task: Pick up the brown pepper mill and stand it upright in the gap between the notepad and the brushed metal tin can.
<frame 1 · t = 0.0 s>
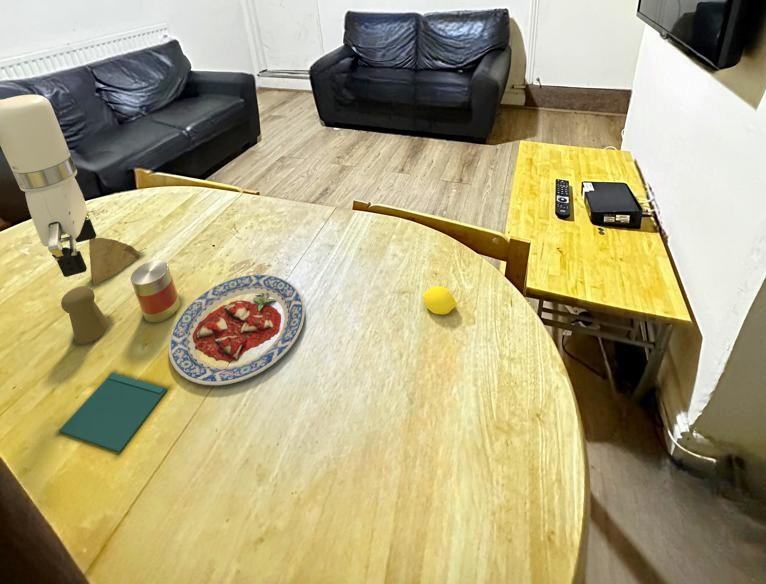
hand: (81, 255, 73), 21 cm above the table, tool pointing down, fingers open, 9 cm apart
lemon: (439, 310, 86), on the table
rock: (119, 270, 100), on the table
notepad: (117, 413, 69), on the table
ceramic plate: (241, 330, 83), on the table
tin can: (163, 311, 88), on the table
brown pepper mill: (93, 334, 83), on the table
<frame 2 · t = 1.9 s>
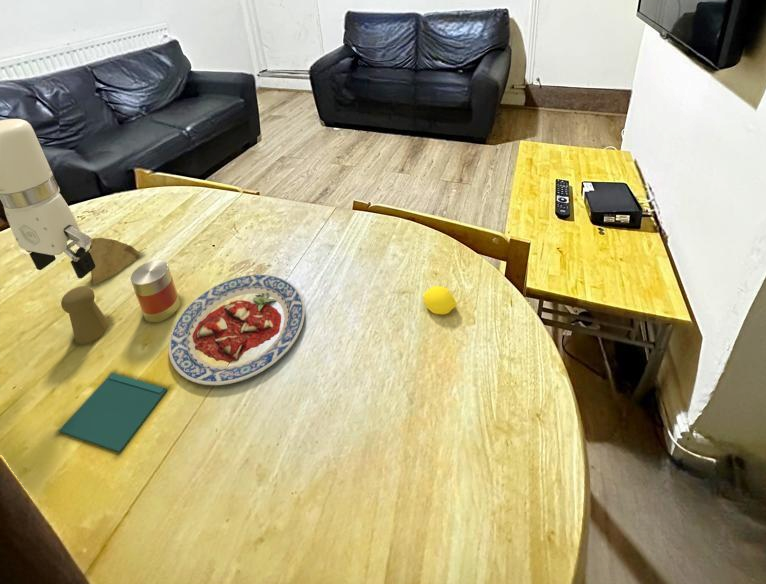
hand: (66, 268, 77), 17 cm above the table, tool pointing down, fingers open, 9 cm apart
nothing on the table moved.
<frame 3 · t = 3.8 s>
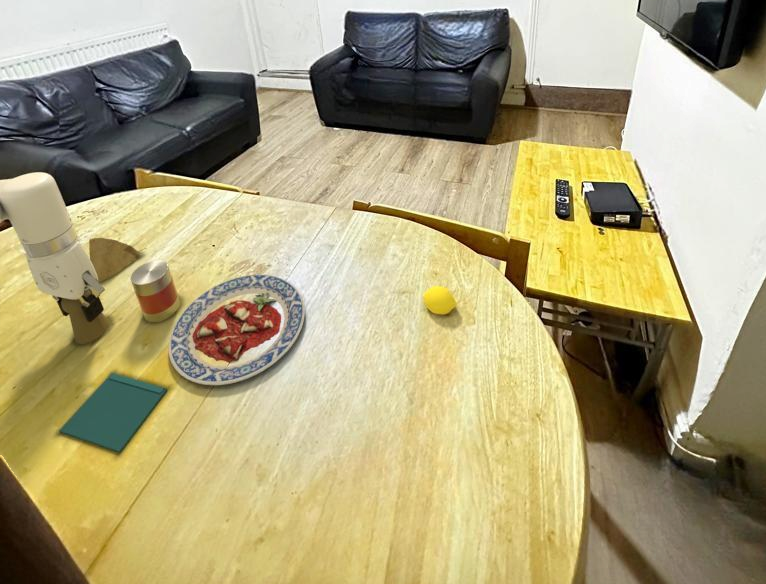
hand: (83, 312, 81), 6 cm above the table, tool pointing down, fingers closed on brown pepper mill, 5 cm apart
brown pepper mill: (93, 334, 83), on the table, touching gripper
everything else where it was.
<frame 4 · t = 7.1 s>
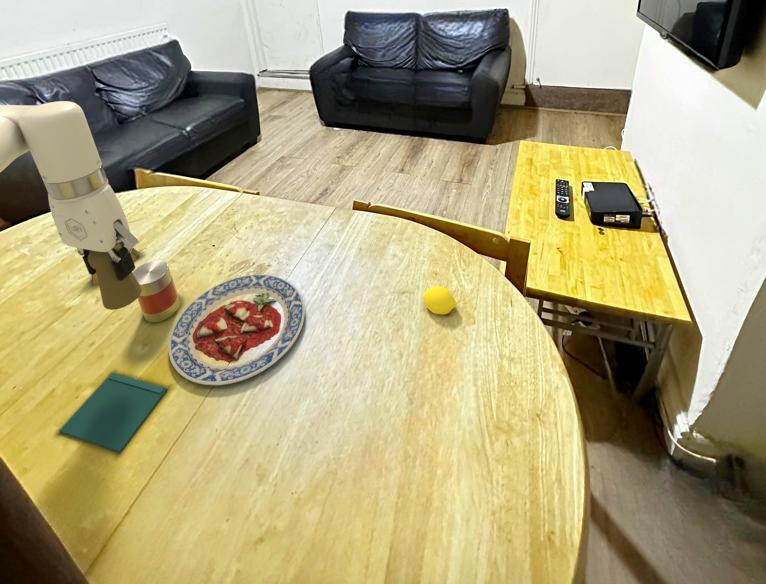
hand: (112, 270, 71), 20 cm above the table, tool pointing down, fingers closed on brown pepper mill, 5 cm apart
brown pepper mill: (123, 296, 73), point 14 cm above the table, touching gripper
everything else where it was.
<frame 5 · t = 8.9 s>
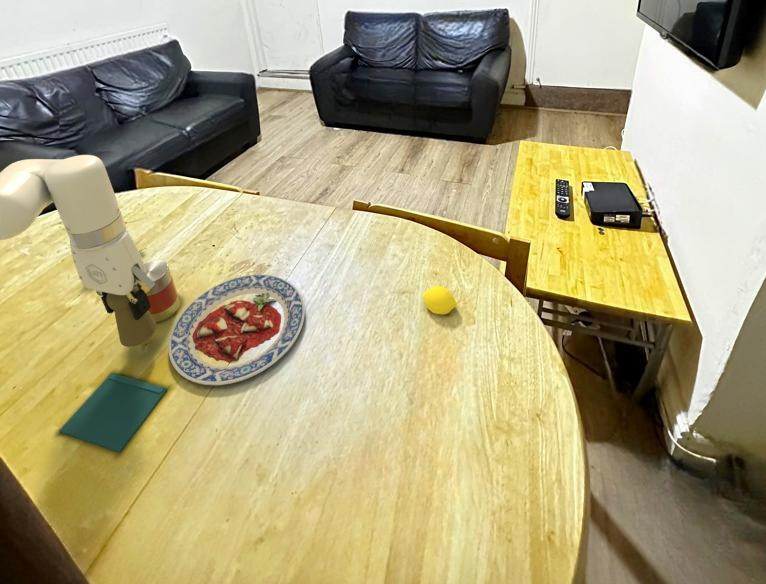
hand: (129, 309, 74), 11 cm above the table, tool pointing down, fingers closed on brown pepper mill, 5 cm apart
brown pepper mill: (138, 333, 77), point 5 cm above the table, touching gripper
everything else where it was.
when the fingers open (6 cm above the table, at t = 10.6 s): brown pepper mill stays where it is, on the table.
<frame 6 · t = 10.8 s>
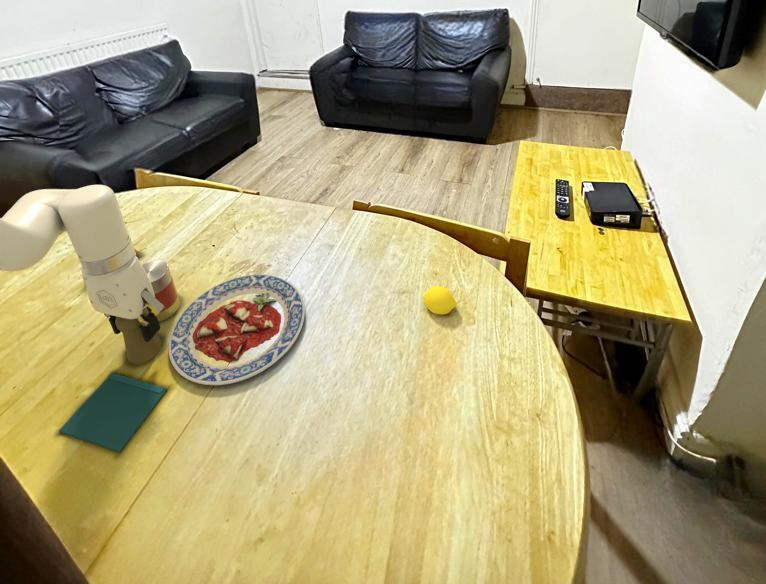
hand: (137, 330, 77), 6 cm above the table, tool pointing down, fingers open, 6 cm apart
brown pepper mill: (146, 353, 79), on the table
everything else where it was.
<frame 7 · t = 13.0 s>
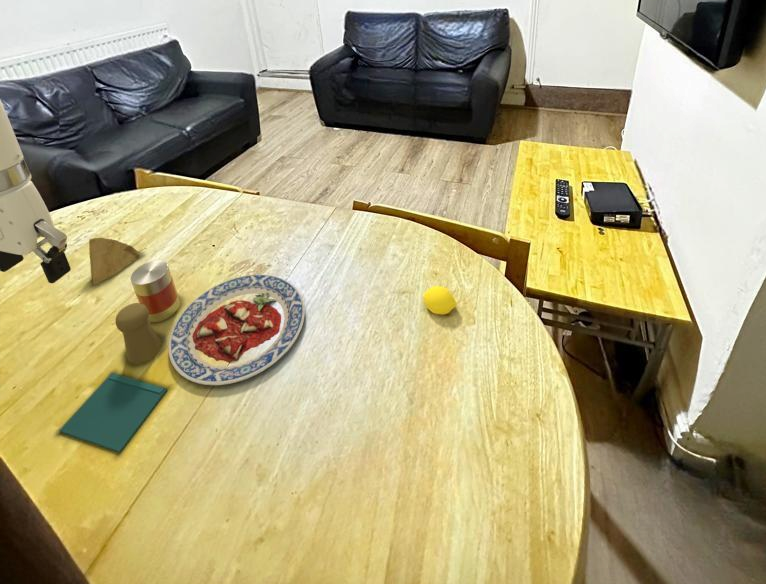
hand: (36, 271, 65), 25 cm above the table, tool pointing down, fingers open, 9 cm apart
nothing on the table moved.
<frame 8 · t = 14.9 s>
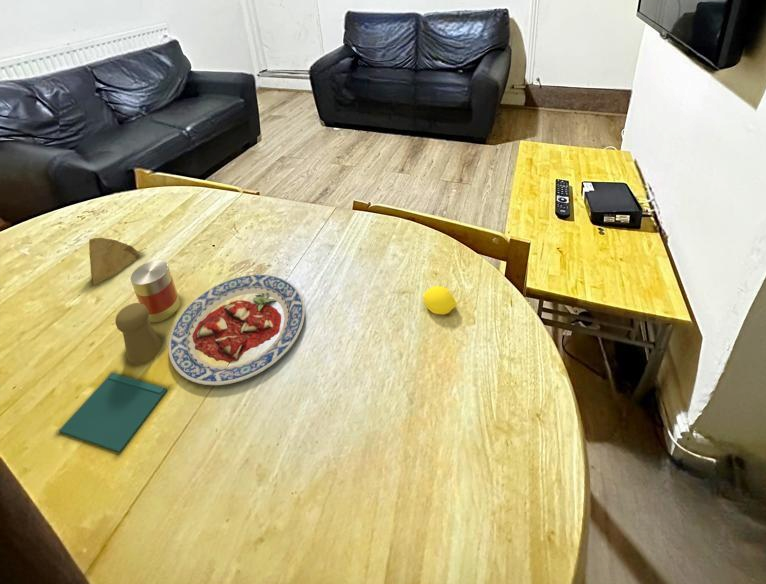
nothing on the table moved.
at the end: brown pepper mill 0.4 cm from the target spot, on the table; brown pepper mill tilted 0°; tin can moved 0.0 cm from its start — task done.
